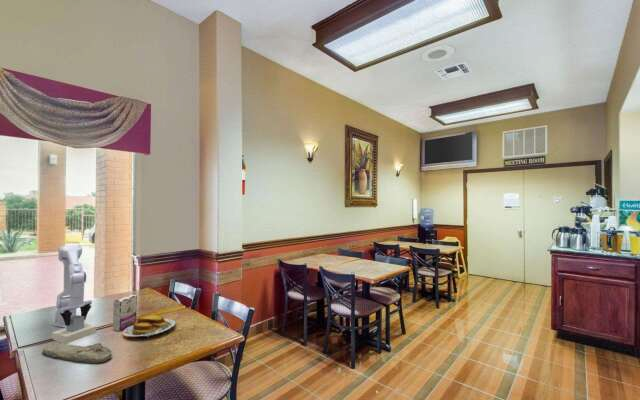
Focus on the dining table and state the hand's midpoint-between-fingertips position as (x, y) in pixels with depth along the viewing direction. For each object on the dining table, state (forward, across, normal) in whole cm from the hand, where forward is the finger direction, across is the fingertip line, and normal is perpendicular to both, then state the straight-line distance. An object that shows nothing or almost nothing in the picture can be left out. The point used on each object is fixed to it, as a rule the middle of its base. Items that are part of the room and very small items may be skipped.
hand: (75, 322), depth 153 cm
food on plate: (+8, +18, -30) cm, 36 cm away
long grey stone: (+8, -14, -21) cm, 27 cm away
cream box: (+8, 0, 0) cm, 8 cm away
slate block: (+3, 0, 0) cm, 3 cm away
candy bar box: (+7, +17, -13) cm, 23 cm away
